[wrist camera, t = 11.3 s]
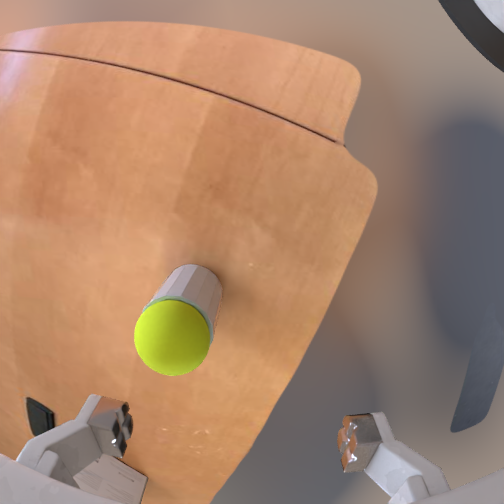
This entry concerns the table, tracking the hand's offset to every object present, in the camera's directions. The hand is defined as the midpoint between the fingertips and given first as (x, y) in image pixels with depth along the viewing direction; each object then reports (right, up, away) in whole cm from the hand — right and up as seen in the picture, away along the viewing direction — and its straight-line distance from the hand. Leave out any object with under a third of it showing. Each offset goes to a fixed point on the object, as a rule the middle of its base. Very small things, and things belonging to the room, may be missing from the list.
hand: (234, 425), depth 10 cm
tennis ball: (-6, -1, +16) cm, 17 cm away
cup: (-6, +2, +26) cm, 26 cm away
